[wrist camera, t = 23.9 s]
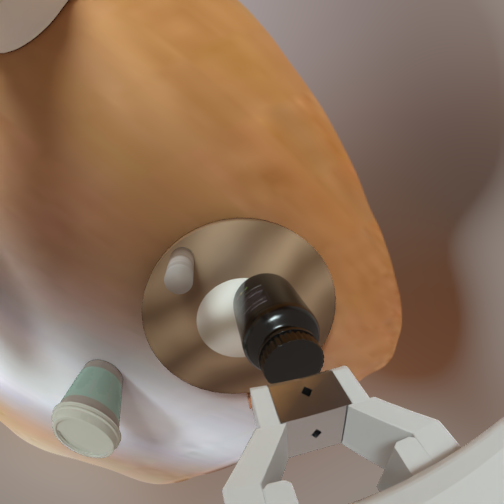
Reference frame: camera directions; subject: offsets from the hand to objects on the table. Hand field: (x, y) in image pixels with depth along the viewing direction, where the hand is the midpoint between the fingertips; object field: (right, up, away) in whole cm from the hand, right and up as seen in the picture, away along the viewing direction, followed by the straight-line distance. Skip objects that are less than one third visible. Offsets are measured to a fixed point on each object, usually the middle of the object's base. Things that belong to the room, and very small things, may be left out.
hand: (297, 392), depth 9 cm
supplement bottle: (0, -1, +24) cm, 24 cm away
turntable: (-3, -3, +26) cm, 26 cm away
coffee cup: (-22, -13, +27) cm, 37 cm away
